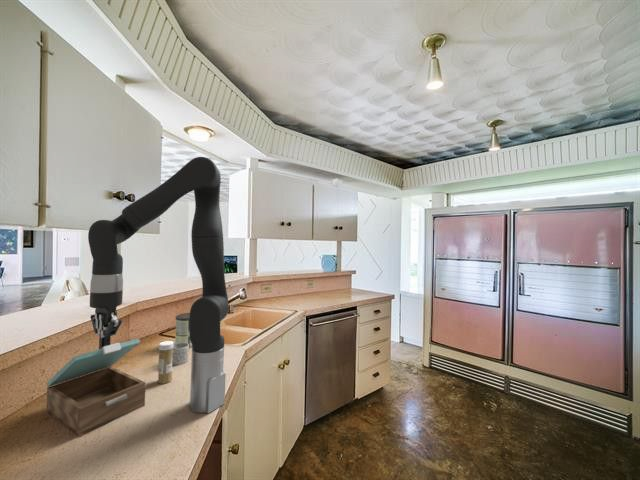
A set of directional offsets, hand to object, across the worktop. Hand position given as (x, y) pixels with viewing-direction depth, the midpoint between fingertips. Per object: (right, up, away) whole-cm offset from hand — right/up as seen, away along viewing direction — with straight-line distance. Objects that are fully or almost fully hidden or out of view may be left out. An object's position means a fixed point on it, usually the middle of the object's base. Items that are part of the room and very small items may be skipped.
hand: (104, 349), depth 81 cm
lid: (-3, -5, +2) cm, 7 cm away
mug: (+4, -19, +33) cm, 38 cm away
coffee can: (-1, -19, +53) cm, 56 cm away
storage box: (-3, -18, +1) cm, 18 cm away
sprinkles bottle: (+7, -19, +18) cm, 27 cm away
